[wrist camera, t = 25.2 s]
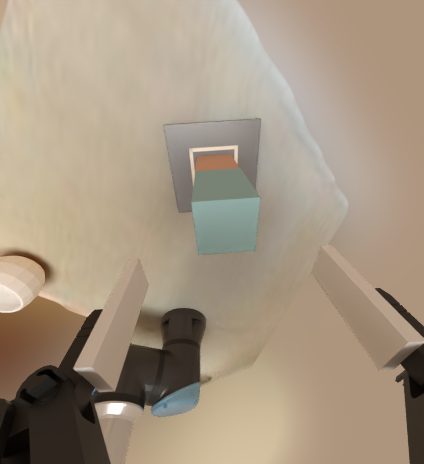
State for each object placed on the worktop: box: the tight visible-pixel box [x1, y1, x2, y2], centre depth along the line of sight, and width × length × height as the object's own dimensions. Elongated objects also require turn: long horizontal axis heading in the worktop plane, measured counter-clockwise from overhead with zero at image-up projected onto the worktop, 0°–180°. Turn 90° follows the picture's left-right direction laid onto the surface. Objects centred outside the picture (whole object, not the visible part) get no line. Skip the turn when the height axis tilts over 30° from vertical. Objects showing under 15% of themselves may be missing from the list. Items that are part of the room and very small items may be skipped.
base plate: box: [163, 119, 261, 213], centre depth 35 cm, size 16×16×2 cm
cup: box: [0, 256, 45, 313], centre depth 43 cm, size 12×12×10 cm
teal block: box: [191, 168, 260, 255], centre depth 22 cm, size 6×6×10 cm
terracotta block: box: [195, 154, 239, 171], centre depth 30 cm, size 6×6×10 cm
